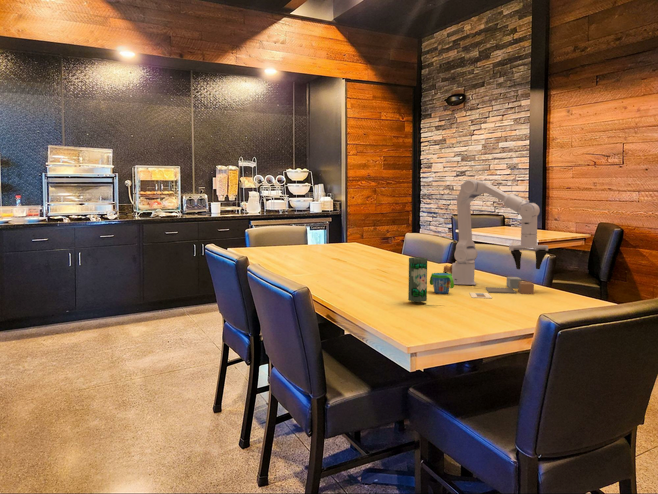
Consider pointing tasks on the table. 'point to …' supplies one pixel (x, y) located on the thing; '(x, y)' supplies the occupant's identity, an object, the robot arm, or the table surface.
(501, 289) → the baseplate
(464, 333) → the table surface
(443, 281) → the snack cup
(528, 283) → the brown brick
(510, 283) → the grey brick
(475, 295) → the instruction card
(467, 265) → the robot arm
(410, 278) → the can
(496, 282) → the table surface
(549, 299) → the table surface
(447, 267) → the lion figurine
